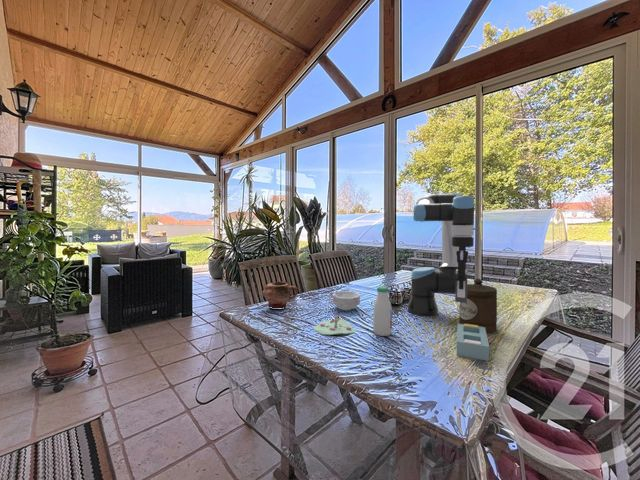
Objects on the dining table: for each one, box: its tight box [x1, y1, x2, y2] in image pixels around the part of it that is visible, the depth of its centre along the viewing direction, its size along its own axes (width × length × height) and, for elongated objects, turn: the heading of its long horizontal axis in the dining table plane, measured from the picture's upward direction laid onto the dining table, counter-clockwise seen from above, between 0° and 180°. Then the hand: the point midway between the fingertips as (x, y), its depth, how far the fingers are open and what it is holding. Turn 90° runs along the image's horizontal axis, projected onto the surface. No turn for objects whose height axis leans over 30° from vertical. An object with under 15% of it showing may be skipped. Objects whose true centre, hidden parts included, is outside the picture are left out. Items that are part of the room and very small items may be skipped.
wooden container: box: [458, 278, 498, 334], centre depth 129 cm, size 15×15×22 cm
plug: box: [454, 269, 469, 303], centre depth 112 cm, size 4×4×12 cm
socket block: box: [456, 323, 490, 362], centre depth 109 cm, size 10×20×5 cm, turn 154°
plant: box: [312, 309, 356, 336], centre depth 133 cm, size 25×21×9 cm
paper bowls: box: [332, 290, 361, 311], centre depth 159 cm, size 15×15×8 cm
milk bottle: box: [372, 285, 393, 337], centre depth 123 cm, size 8×8×20 cm
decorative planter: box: [261, 281, 299, 308], centre depth 161 cm, size 20×12×14 cm, turn 105°
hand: (461, 295), depth 112 cm, fingers closed on plug, 4 cm apart
